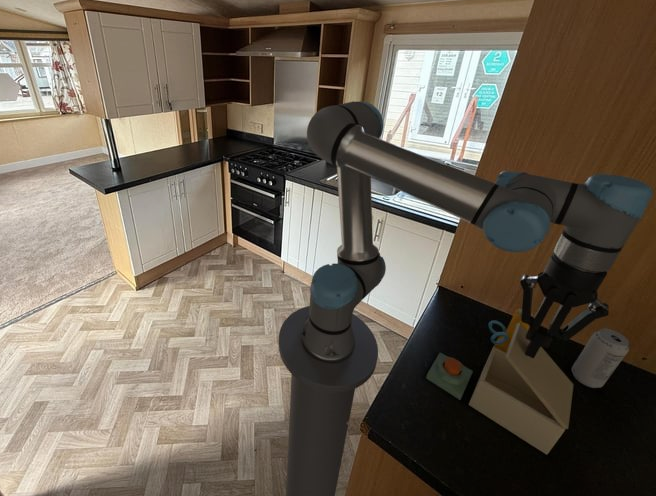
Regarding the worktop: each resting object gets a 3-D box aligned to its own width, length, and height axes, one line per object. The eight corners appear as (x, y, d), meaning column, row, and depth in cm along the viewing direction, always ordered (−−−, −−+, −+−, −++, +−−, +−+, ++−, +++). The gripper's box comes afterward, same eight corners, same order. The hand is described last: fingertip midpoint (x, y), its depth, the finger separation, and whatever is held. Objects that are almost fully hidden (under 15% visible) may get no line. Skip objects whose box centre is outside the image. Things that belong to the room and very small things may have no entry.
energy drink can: (586, 368, 82) (614, 326, 75) (608, 390, 76) (640, 347, 70) (563, 367, 82) (589, 326, 75) (584, 390, 76) (613, 347, 70)
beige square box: (468, 404, 73) (479, 380, 69) (482, 370, 81) (493, 346, 77) (547, 455, 64) (565, 430, 60) (554, 410, 72) (570, 386, 68)
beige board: (505, 357, 64) (508, 356, 63) (517, 323, 72) (520, 322, 71) (563, 429, 60) (568, 429, 59) (569, 384, 68) (573, 384, 68)
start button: (441, 368, 78) (443, 364, 77) (446, 359, 80) (448, 355, 80) (457, 378, 76) (459, 373, 75) (461, 368, 78) (463, 364, 77)
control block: (425, 378, 79) (428, 369, 77) (438, 356, 85) (441, 347, 83) (460, 400, 74) (464, 391, 72) (471, 375, 80) (475, 366, 78)
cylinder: (496, 373, 80) (517, 331, 74) (472, 339, 90) (488, 300, 83) (542, 371, 81) (567, 329, 74) (513, 338, 90) (532, 299, 83)
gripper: (631, 267, 54) (572, 360, 64) (537, 239, 62) (498, 325, 72) (633, 288, 49) (569, 385, 59) (530, 255, 57) (490, 345, 67)
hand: (530, 352), depth 66 cm, fingers closed
